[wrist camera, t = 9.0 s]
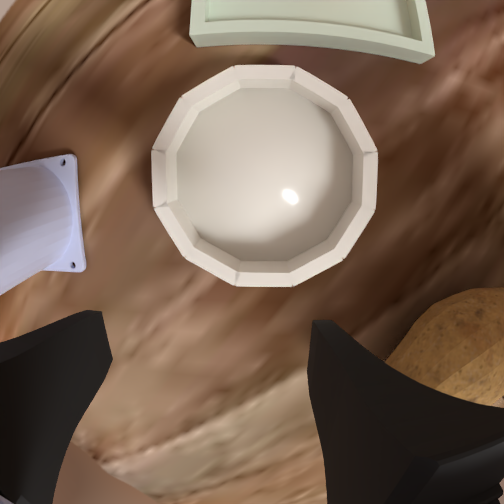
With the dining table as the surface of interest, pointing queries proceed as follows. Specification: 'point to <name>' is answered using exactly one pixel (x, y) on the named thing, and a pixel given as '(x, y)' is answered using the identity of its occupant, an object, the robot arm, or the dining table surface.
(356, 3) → the tray
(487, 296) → the potato
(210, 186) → the dish
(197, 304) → the dining table surface
